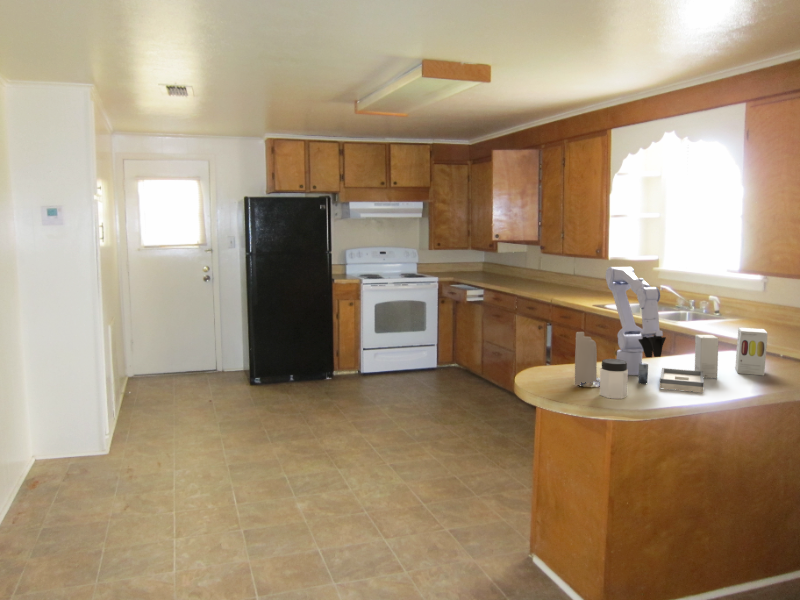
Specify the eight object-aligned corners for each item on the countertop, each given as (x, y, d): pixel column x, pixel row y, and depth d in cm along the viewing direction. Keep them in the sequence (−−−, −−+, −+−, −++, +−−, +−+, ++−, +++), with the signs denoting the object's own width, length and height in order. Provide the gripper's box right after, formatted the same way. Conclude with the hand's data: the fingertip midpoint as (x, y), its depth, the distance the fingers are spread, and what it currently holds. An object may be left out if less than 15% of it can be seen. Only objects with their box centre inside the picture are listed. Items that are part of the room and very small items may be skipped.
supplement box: (737, 373, 246) (739, 330, 244) (734, 368, 254) (737, 327, 252) (765, 375, 242) (768, 332, 240) (761, 370, 251) (764, 328, 248)
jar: (606, 390, 222) (607, 357, 221) (629, 394, 217) (631, 360, 216) (596, 396, 216) (597, 361, 214) (619, 400, 210) (621, 365, 209)
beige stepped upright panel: (616, 387, 227) (618, 332, 224) (577, 387, 227) (579, 332, 224) (609, 382, 234) (611, 328, 232) (572, 382, 234) (573, 329, 231)
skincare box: (717, 379, 237) (719, 338, 235) (698, 378, 239) (700, 337, 237) (711, 373, 246) (713, 334, 244) (693, 373, 247) (695, 333, 245)
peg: (637, 383, 232) (638, 364, 231) (638, 381, 235) (639, 362, 234) (647, 384, 231) (647, 365, 230) (647, 382, 234) (648, 363, 233)
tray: (659, 388, 225) (660, 378, 224) (661, 376, 241) (662, 367, 241) (703, 392, 219) (703, 382, 219) (702, 380, 235) (702, 371, 235)
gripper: (632, 321, 239) (634, 357, 237) (647, 318, 224) (650, 357, 223) (650, 321, 239) (653, 357, 237) (667, 318, 224) (670, 356, 223)
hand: (653, 357), depth 230 cm, fingers open, 7 cm apart
